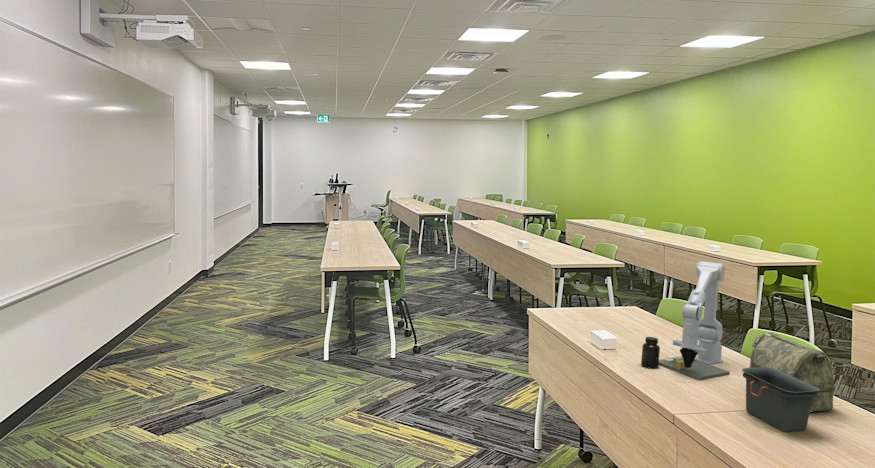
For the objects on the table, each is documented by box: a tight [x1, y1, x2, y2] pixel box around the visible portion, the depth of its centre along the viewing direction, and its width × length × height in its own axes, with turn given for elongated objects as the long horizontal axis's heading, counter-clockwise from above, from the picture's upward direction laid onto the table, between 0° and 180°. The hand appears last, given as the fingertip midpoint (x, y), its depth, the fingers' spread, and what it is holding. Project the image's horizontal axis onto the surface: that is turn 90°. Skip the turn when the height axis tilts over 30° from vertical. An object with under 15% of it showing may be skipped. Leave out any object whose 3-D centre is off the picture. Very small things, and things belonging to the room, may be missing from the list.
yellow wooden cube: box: [674, 360, 685, 370], centre depth 231 cm, size 3×3×3 cm
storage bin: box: [741, 367, 820, 433], centre depth 184 cm, size 21×16×14 cm
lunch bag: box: [749, 332, 836, 412], centre depth 203 cm, size 26×18×22 cm
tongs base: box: [659, 356, 731, 381], centre depth 235 cm, size 18×22×5 cm
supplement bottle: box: [640, 336, 661, 369], centre depth 236 cm, size 7×7×12 cm
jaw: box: [672, 355, 684, 363], centre depth 237 cm, size 13×2×2 cm, turn 129°
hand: (687, 367), depth 227 cm, fingers closed
